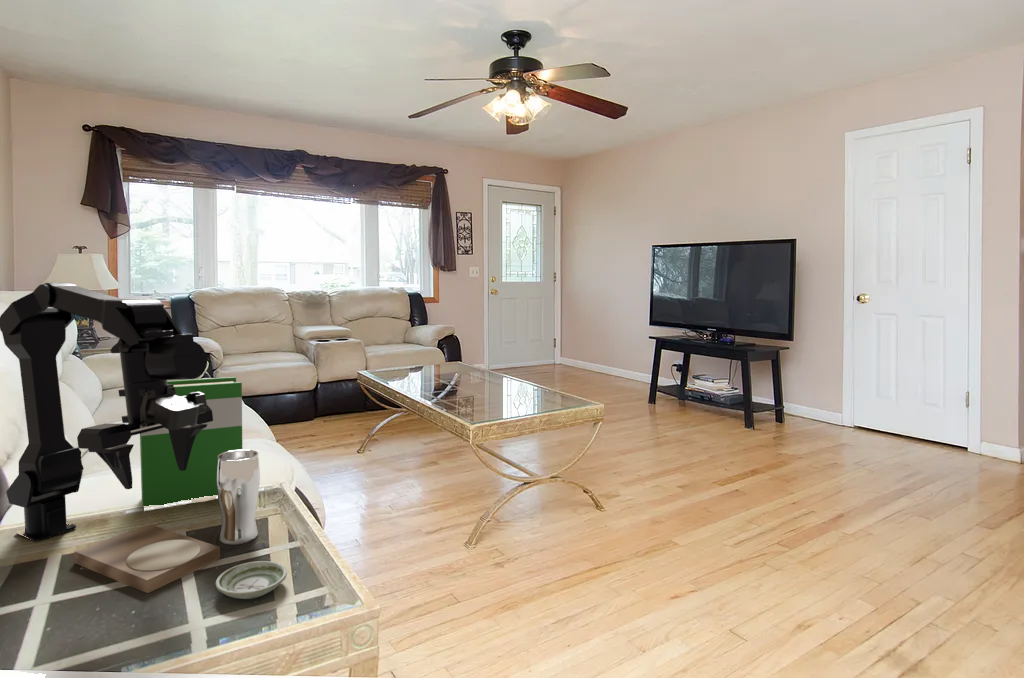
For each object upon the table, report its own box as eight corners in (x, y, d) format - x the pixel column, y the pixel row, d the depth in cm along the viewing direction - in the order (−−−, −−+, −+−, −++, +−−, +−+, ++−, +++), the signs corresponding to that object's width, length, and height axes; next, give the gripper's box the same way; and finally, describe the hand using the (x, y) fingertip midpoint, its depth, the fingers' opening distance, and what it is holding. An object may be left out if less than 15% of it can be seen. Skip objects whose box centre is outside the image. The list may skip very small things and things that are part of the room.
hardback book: (236, 484, 129) (235, 376, 126) (242, 495, 123) (241, 382, 120) (141, 499, 119) (138, 382, 117) (143, 512, 113) (139, 389, 110)
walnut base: (74, 563, 93) (74, 549, 93) (149, 534, 104) (149, 522, 104) (147, 593, 85) (147, 578, 85) (220, 558, 96) (219, 545, 96)
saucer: (292, 573, 93) (292, 558, 93) (279, 607, 84) (279, 590, 83) (227, 576, 91) (227, 561, 91) (206, 611, 82) (206, 594, 82)
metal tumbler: (243, 548, 100) (242, 462, 98) (207, 543, 101) (206, 458, 100) (268, 531, 107) (267, 451, 105) (234, 526, 108) (233, 447, 107)
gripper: (122, 390, 80) (136, 502, 81) (233, 370, 97) (243, 463, 98) (68, 391, 84) (82, 498, 85) (183, 372, 101) (193, 461, 102)
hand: (157, 479), depth 92 cm, fingers open, 9 cm apart
